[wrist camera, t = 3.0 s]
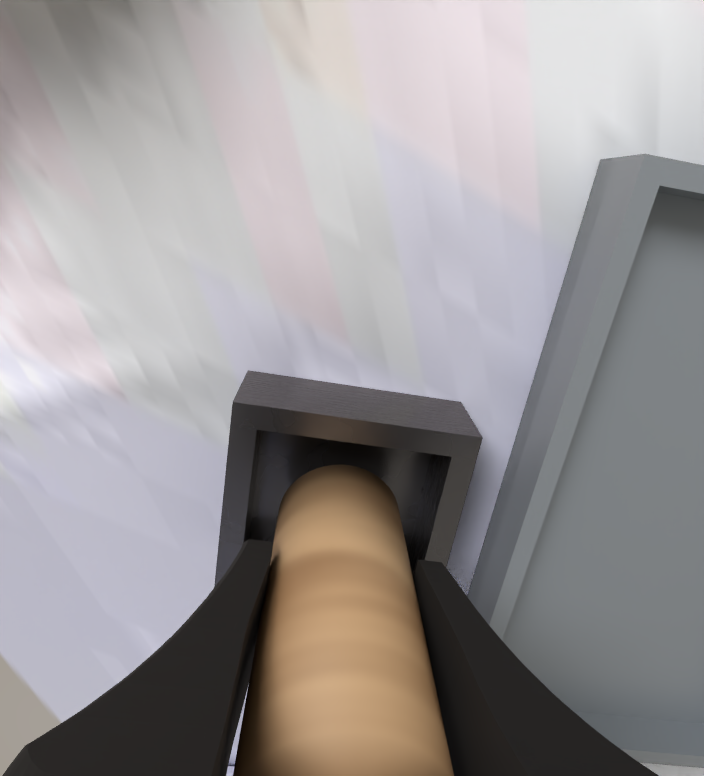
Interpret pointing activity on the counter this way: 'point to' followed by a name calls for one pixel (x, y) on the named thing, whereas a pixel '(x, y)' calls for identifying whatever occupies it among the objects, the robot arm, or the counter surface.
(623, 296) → the slate tray
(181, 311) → the counter surface
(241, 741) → the oak dowel
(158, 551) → the counter surface
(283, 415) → the pin holder
